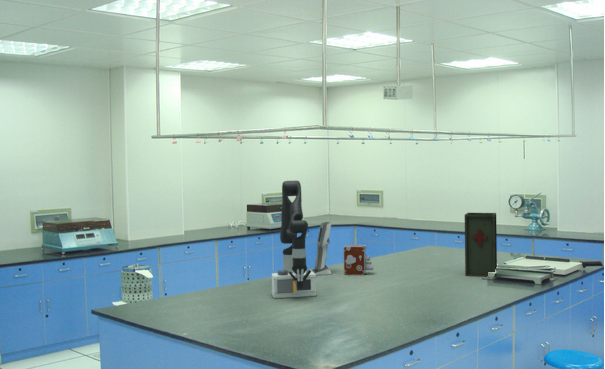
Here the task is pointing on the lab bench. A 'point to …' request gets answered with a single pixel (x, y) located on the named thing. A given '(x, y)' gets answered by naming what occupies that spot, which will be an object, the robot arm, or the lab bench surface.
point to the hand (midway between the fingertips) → (300, 287)
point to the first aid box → (480, 244)
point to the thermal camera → (322, 250)
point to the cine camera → (356, 260)
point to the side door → (286, 286)
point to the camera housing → (306, 290)
